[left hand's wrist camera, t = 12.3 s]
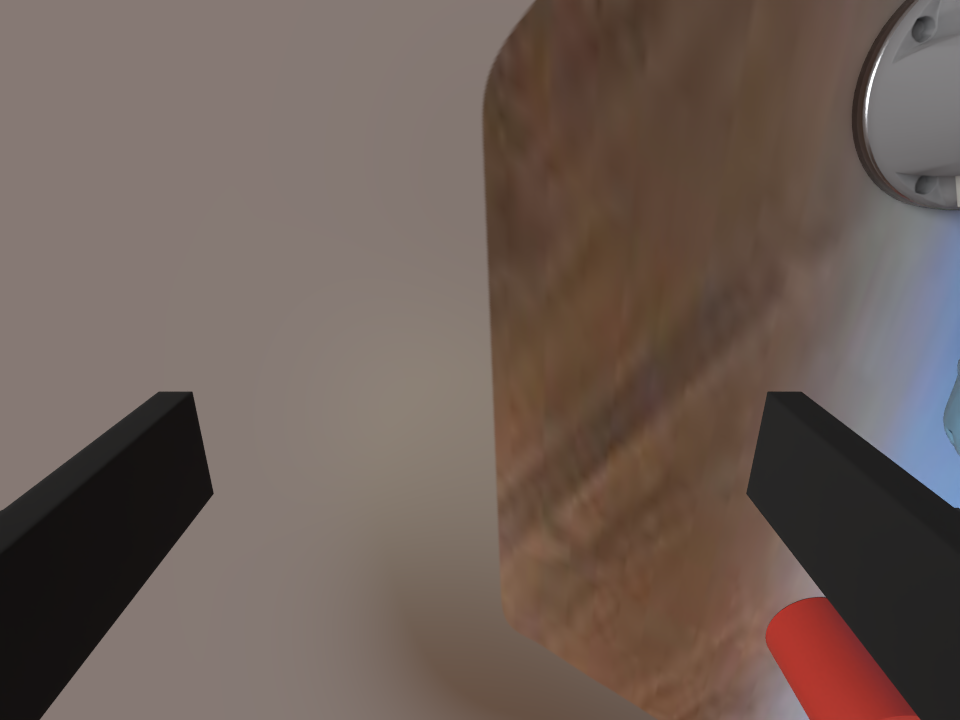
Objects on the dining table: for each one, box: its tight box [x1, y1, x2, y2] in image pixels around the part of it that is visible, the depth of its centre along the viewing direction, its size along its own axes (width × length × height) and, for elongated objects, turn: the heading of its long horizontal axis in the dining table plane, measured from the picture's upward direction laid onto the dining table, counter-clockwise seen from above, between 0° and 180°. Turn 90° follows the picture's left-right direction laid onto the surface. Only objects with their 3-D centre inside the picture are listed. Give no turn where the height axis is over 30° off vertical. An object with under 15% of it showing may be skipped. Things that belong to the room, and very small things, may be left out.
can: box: [766, 597, 920, 720], centre depth 49 cm, size 9×9×12 cm
